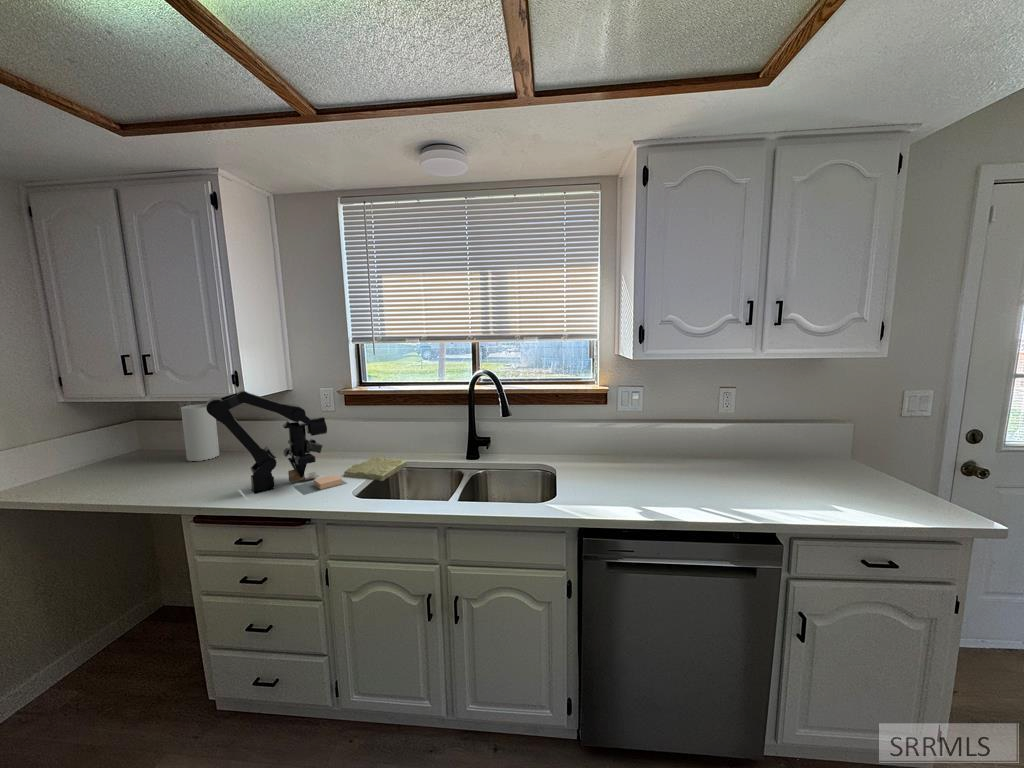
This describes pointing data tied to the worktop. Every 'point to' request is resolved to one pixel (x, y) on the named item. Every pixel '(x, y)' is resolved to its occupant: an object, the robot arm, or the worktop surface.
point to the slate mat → (311, 487)
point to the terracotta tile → (327, 481)
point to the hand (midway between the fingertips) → (300, 476)
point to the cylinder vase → (199, 433)
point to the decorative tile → (376, 468)
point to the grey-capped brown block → (295, 476)
